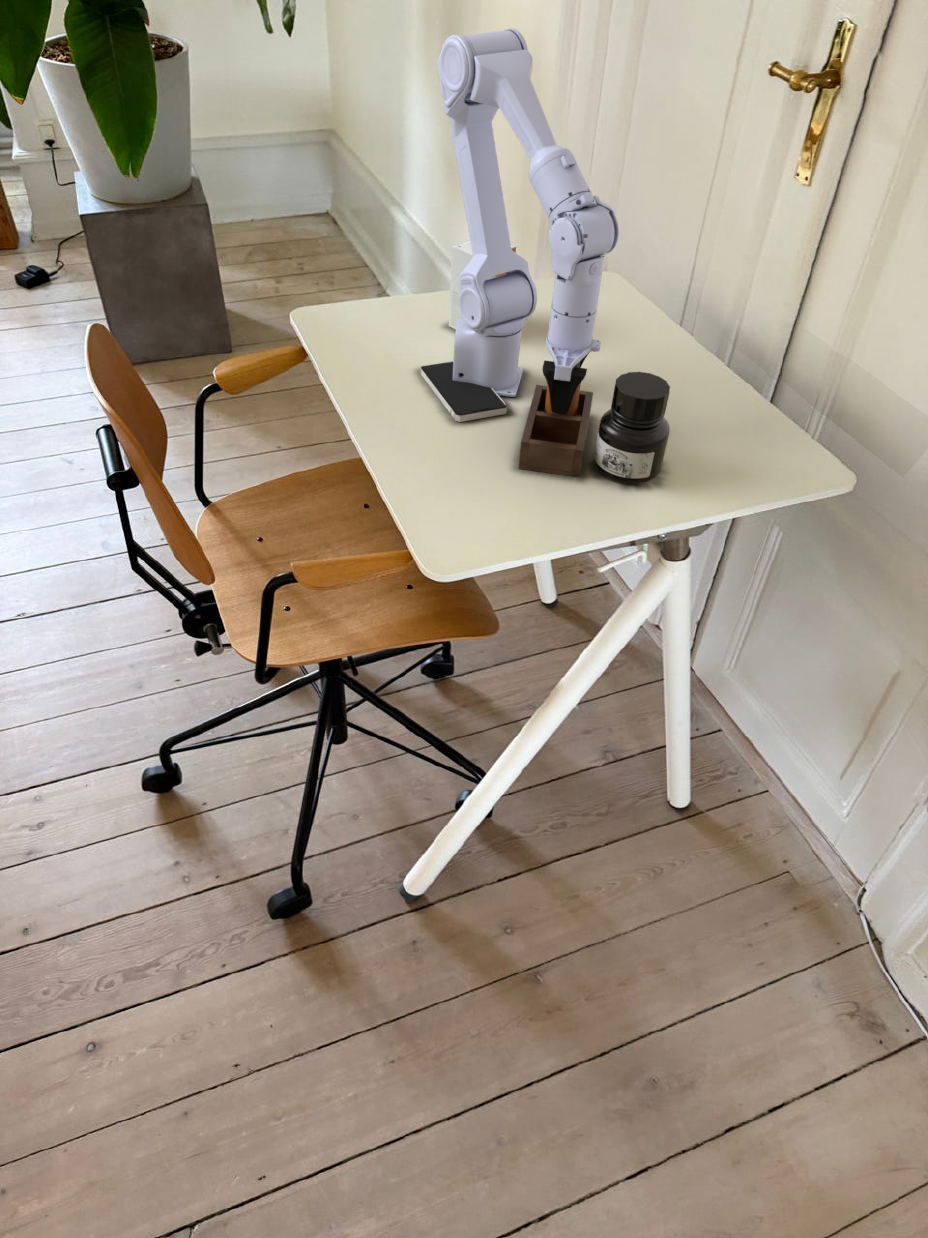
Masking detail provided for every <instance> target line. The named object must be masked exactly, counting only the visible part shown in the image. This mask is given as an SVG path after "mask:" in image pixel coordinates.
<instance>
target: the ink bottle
mask: <svg viewBox="0 0 928 1238" xmlns="http://www.w3.org/2000/svg"><path fill="white" fill-rule="evenodd" d="M670 390H671V386H670V384H669V382H668V381H667V380H665V379H664V378H662V377H661V376H659V375H656V374H653V373H650V372H644V371H629V372H625V373H623V374H620V375H619V376H618V377H617V378H615V383H614V388H613V392H612V393H613V394H612V399H611V405H610V409H608V410H607V411H606V412H604V414H603V415H602V416H601V419H600V421H599V424H598V425H599V426H598V430H597V437H596V442H595V449H594V455H593V456H594V457H593V465H594V467H595V469H596V470H597V471H598V472H599V473H600V474H601V475H603V476H604V477H605V478H608V479H609V480H612V481H615V482H617V483H621V484H627V485H639V484H641V485H642V484H644V483H648V482H650V481H652V480H654V479H656V477H657V476H659V475H660V473H661V471H662V469H663V468H662V467H663V463H664V458H665V454H666V450H667V446H668V441H669V437H670V430H671V429H670V425H669V422H668V420H667V419H666V418H665V415H666V410H667V406H668V401H669V397H670V393H671V391H670Z"/></svg>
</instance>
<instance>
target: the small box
mask: <svg viewBox="0 0 928 1238" xmlns="http://www.w3.org/2000/svg"><path fill="white" fill-rule="evenodd" d="M511 249H512V251H514V252H515V253H516V254H517V246H516V245H514V244H511ZM472 257H473V254H472V248H471V242H470V239H469V240H466V241H464V242H461V243H459V244H456V245H453V246H451V259H450V261H451V262H450V287H449V307H448V308H449V313H448V327H450V328H452V329H453V330H455V331H456V328H457V324H458V321H459V320H460V319H463V317H462V315H461V311H460V306H459V299H460V282H459V275H460V274H461V272H462V271H463V270H464V268H465V267H466V266H467V265H468V263H469V262H470V261H471V259H472ZM504 275H506V274H505V273H502V274H498V275H495V276H491V277H489V278H487V279H486V280H488V279H492V278H496V277H500V276H504Z"/></svg>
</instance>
